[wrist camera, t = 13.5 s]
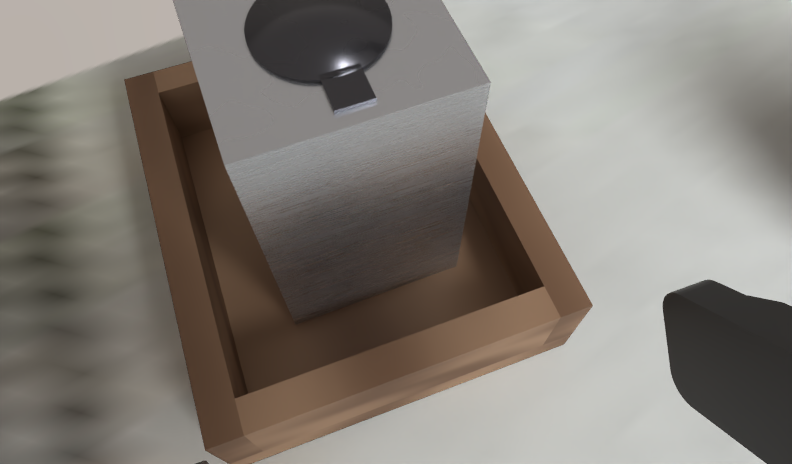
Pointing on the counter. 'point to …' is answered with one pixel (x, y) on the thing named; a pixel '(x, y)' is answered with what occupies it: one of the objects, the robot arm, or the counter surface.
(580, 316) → the tray
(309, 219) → the block
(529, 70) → the counter surface
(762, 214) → the counter surface
